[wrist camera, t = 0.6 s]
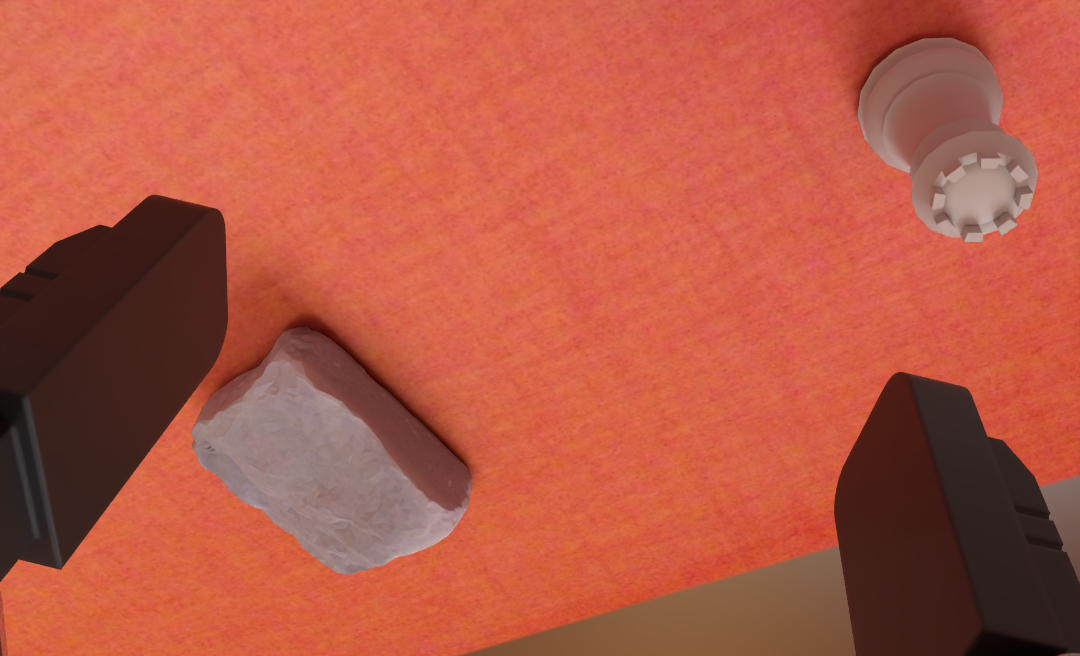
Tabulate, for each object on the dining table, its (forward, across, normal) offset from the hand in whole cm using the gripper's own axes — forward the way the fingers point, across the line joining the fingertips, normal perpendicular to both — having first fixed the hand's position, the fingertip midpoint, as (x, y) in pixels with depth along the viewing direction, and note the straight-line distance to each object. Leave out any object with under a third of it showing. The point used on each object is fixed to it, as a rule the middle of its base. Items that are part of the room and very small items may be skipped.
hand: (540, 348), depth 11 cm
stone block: (+23, +9, +25) cm, 35 cm away
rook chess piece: (+23, -10, +3) cm, 26 cm away
